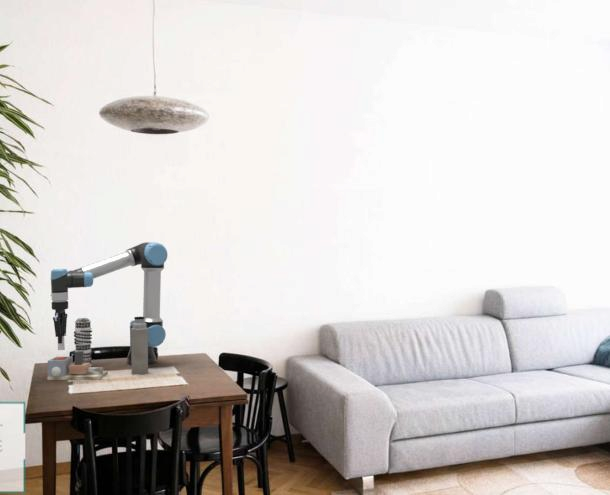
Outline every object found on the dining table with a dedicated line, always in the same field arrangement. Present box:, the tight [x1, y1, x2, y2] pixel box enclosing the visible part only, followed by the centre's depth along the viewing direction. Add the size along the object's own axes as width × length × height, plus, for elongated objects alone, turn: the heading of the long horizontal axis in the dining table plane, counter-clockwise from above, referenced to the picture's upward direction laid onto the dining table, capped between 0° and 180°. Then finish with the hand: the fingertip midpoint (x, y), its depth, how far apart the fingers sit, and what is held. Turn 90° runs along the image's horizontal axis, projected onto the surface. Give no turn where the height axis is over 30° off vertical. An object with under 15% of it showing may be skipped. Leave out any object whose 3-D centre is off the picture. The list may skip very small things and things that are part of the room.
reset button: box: [54, 356, 67, 360], centre depth 314 cm, size 5×5×3 cm
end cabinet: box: [47, 356, 74, 377], centre depth 314 cm, size 8×11×9 cm
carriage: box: [68, 351, 91, 374], centre depth 314 cm, size 8×7×10 cm
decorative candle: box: [73, 317, 93, 367], centre depth 341 cm, size 9×9×25 cm
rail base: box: [46, 366, 109, 381], centre depth 314 cm, size 25×12×4 cm, turn 90°
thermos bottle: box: [130, 316, 149, 375], centre depth 323 cm, size 8×8×28 cm
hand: (61, 349), depth 314 cm, fingers closed
